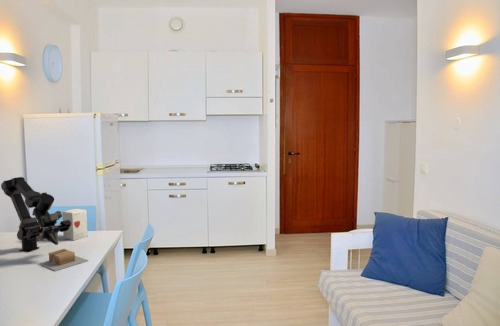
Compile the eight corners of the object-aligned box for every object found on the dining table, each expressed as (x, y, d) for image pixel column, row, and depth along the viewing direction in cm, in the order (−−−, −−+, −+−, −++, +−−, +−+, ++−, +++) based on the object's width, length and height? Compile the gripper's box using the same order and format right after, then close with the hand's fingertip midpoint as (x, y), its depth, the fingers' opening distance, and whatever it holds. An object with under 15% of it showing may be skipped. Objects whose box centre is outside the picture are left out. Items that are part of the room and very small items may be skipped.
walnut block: (48, 252, 177) (59, 256, 172) (63, 248, 183) (74, 252, 177) (49, 261, 177) (59, 265, 172) (64, 257, 183) (75, 261, 178)
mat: (41, 265, 174) (41, 264, 174) (73, 256, 186) (73, 255, 186) (55, 271, 167) (55, 270, 167) (88, 261, 179) (88, 260, 179)
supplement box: (73, 240, 210) (71, 213, 209) (63, 238, 215) (61, 211, 213) (88, 236, 218) (86, 209, 216) (78, 234, 223) (76, 208, 221)
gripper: (27, 210, 173) (41, 239, 168) (68, 202, 188) (82, 229, 182) (20, 225, 178) (33, 253, 173) (60, 217, 193) (74, 242, 188)
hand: (57, 244), depth 179 cm, fingers closed
